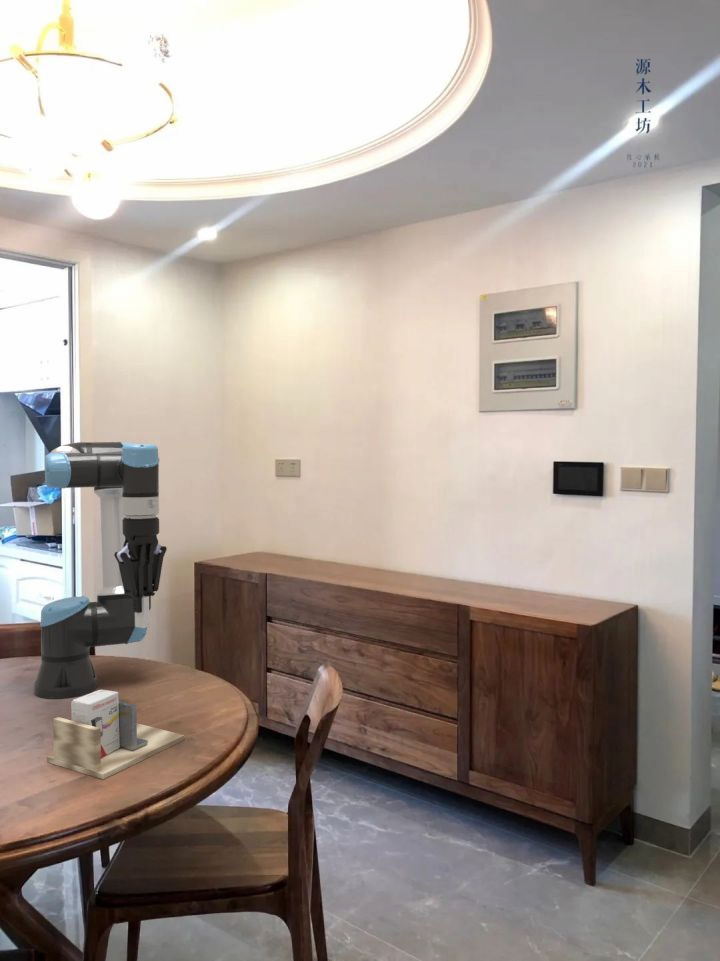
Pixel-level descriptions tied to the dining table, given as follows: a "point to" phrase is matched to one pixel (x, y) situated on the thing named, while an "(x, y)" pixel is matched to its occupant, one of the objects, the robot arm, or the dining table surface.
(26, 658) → the dining table surface
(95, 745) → the rack
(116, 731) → the ink box
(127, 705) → the bookend
